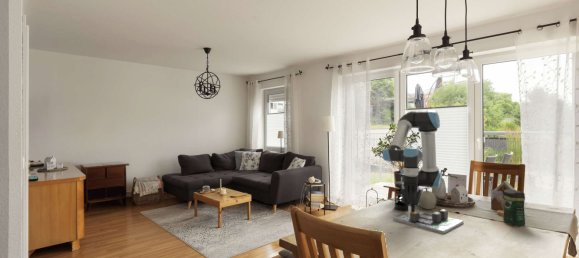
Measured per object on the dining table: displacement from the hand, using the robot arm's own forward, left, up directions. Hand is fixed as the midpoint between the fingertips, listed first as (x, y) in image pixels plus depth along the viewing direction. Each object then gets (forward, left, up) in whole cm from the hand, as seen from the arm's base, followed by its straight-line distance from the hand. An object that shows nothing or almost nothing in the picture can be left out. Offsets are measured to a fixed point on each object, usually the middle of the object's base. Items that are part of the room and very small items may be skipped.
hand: (410, 217), depth 167 cm
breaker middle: (-8, +11, -2) cm, 13 cm away
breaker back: (-16, +11, -2) cm, 19 cm away
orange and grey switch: (0, +2, -2) cm, 3 cm away
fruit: (-33, -7, -3) cm, 34 cm away
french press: (-20, -17, -3) cm, 27 cm away
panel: (-8, +6, -3) cm, 10 cm away
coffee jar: (-40, +38, -3) cm, 55 cm away
